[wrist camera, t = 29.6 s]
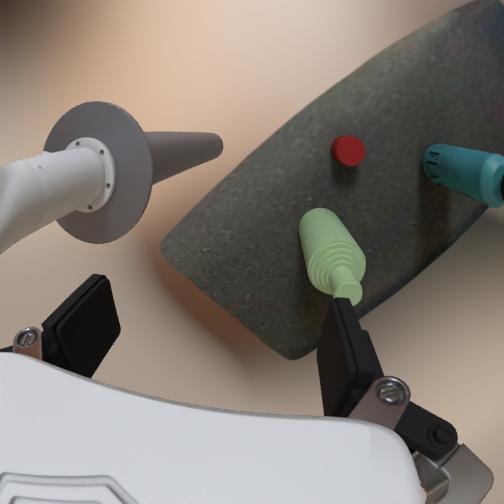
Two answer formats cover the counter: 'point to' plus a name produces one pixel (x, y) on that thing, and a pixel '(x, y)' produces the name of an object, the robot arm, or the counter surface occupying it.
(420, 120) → the counter surface
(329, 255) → the sauce bottle
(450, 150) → the beverage bottle
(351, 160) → the cap
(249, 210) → the counter surface
